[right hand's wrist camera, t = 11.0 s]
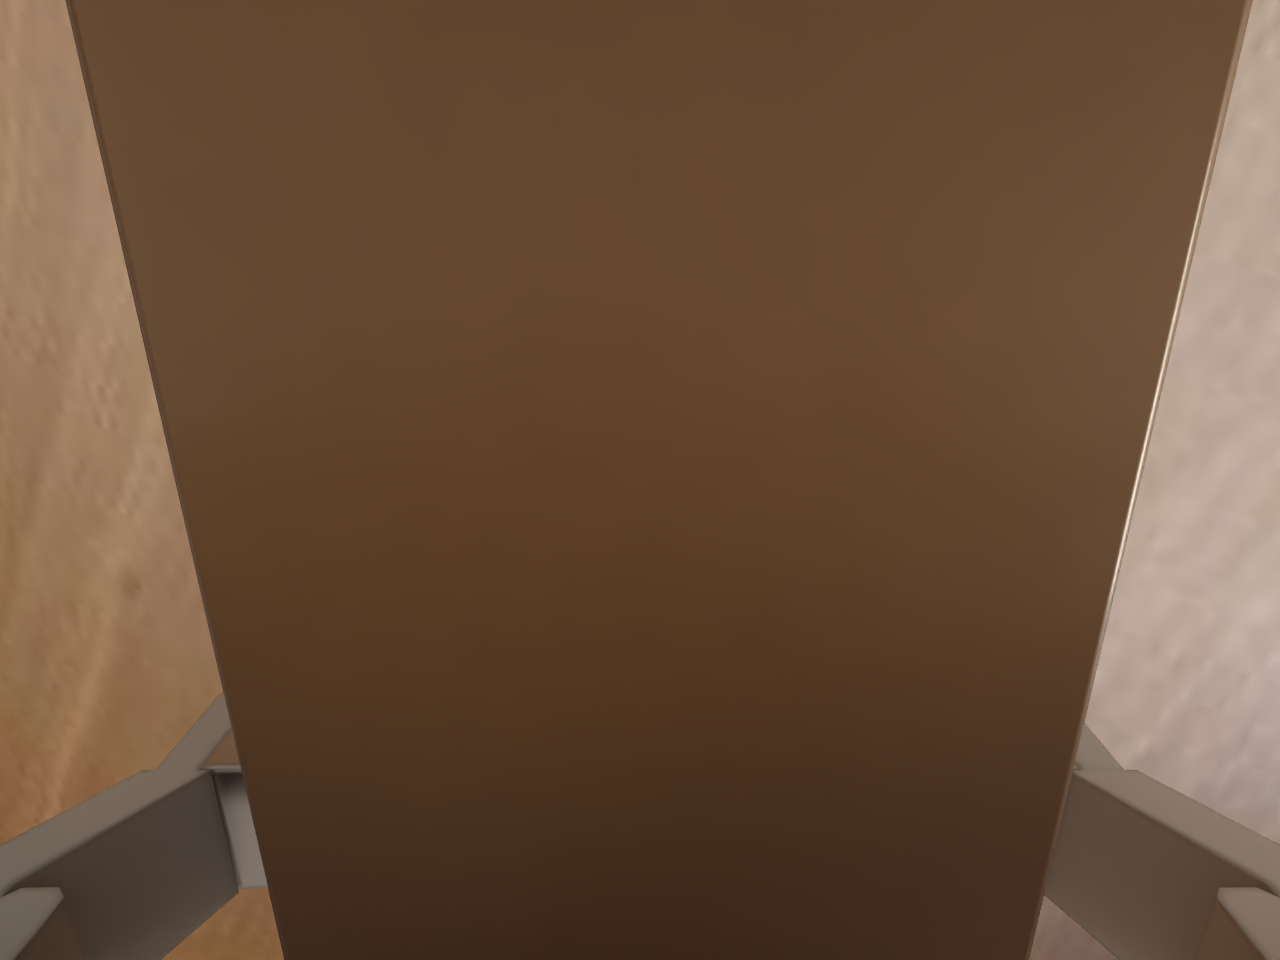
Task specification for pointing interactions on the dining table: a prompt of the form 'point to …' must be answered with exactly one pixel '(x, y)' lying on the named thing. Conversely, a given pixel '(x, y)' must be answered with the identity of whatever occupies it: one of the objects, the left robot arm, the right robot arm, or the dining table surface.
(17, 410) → the dining table surface
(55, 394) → the dining table surface
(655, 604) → the bar
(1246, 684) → the dining table surface
